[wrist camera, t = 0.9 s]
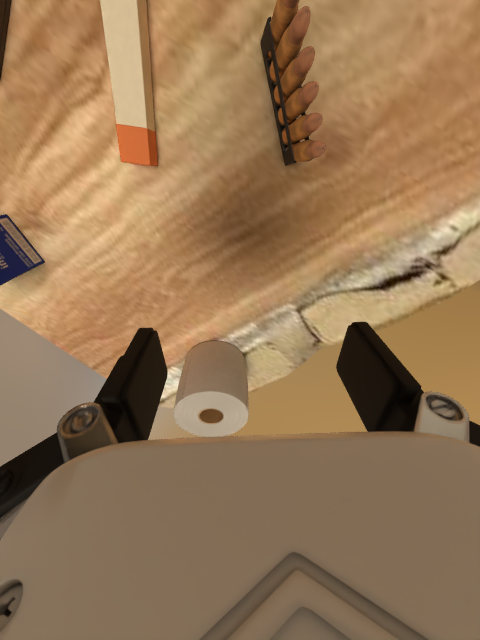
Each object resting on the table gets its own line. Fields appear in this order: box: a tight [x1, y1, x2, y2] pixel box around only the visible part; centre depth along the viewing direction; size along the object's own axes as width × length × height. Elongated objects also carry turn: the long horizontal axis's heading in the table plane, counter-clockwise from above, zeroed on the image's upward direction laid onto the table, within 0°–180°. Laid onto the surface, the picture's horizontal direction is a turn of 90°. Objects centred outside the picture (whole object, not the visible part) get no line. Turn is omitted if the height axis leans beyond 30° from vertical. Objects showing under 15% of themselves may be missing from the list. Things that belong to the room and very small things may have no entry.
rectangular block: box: [100, 0, 158, 166], centre depth 23 cm, size 13×3×3 cm, turn 174°
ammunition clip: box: [261, 0, 326, 166], centre depth 20 cm, size 11×2×12 cm, turn 19°
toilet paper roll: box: [173, 341, 249, 437], centre depth 41 cm, size 12×12×12 cm
